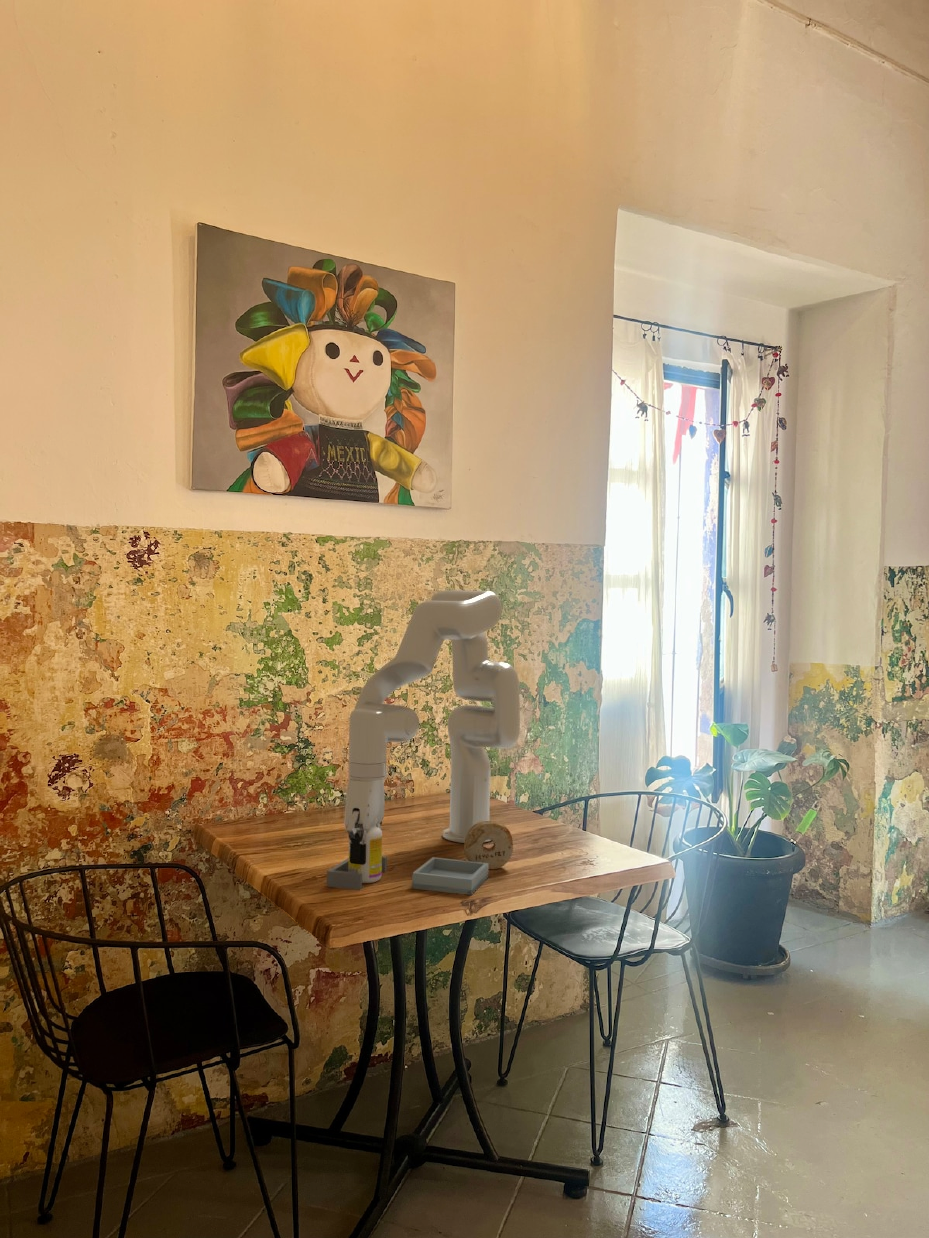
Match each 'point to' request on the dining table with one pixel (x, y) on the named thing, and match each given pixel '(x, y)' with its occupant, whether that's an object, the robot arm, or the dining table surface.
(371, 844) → the supplement bottle
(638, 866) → the dining table surface
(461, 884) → the tray
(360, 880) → the bay
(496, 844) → the stone disc
